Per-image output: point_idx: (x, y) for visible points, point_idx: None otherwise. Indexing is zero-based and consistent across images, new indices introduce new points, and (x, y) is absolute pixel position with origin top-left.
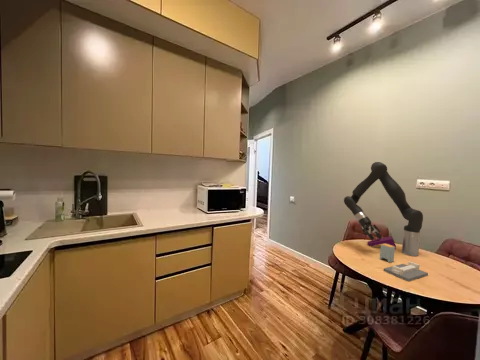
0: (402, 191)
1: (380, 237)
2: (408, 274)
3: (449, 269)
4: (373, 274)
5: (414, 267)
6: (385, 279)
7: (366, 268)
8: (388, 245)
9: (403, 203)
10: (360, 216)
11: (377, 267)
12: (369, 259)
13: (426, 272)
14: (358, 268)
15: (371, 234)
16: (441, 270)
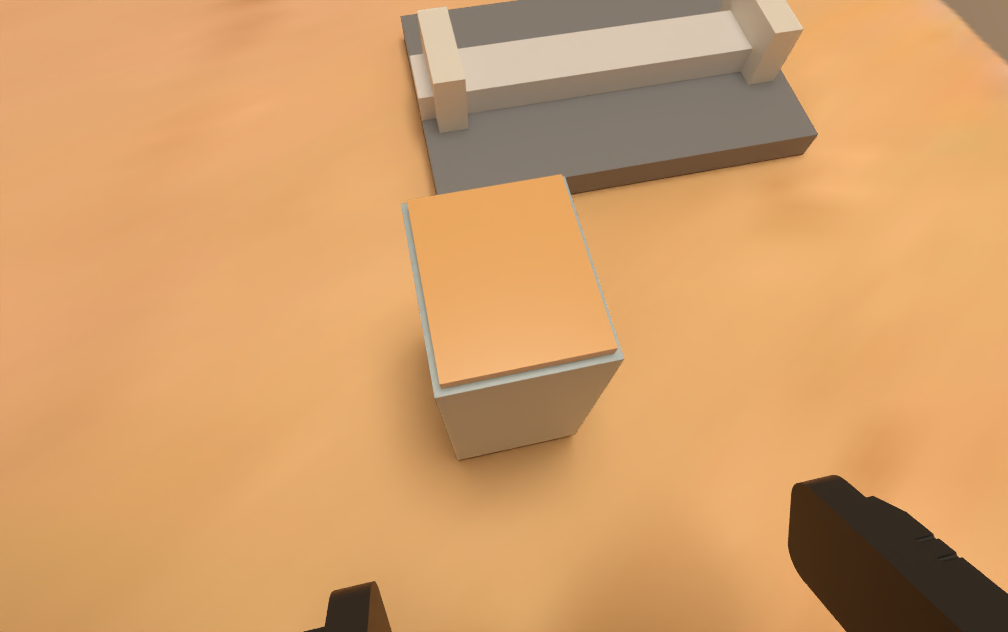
0: None
1: (379, 620)
2: (647, 19)
3: None
4: (968, 113)
5: (478, 48)
6: (903, 40)
7: (975, 220)
8: (513, 250)
9: None
10: None
11: (816, 224)
12: (759, 447)
13: (406, 22)
14: None
15: (957, 624)
16: (99, 88)
